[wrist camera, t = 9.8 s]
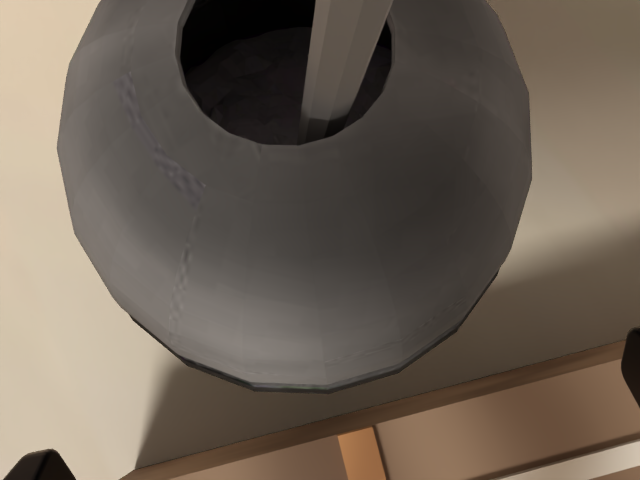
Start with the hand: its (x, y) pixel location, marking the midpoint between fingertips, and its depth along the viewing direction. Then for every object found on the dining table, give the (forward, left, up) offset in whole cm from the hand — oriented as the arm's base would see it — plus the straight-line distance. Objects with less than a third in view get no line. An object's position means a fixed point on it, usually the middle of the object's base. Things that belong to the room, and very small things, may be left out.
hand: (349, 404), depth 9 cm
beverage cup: (+4, -1, -12) cm, 12 cm away
